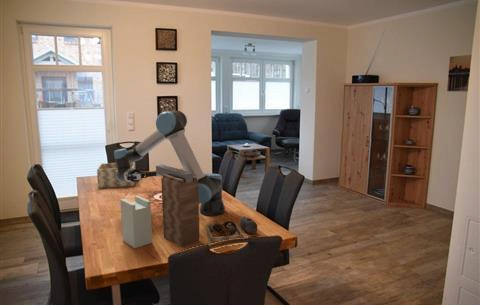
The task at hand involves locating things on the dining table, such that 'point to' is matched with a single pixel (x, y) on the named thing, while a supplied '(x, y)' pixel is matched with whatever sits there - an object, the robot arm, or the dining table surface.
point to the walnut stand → (180, 210)
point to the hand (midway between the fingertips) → (152, 175)
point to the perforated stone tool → (248, 225)
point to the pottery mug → (225, 228)
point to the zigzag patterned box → (111, 176)
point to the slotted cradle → (136, 222)
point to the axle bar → (175, 173)
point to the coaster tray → (217, 239)
